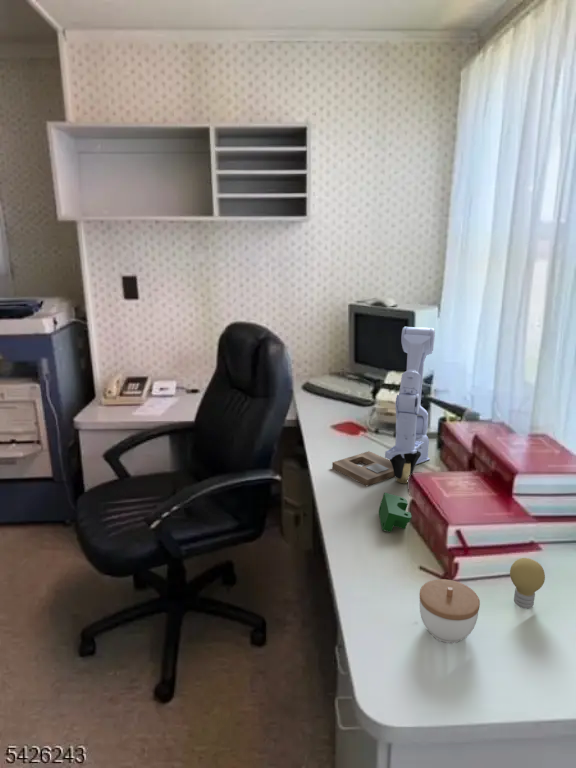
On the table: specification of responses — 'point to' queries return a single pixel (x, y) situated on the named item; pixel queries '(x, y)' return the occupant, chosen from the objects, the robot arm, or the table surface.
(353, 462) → the jig plate
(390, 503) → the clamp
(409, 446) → the robot arm
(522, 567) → the light bulb
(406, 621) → the table surface
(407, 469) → the brass bushing
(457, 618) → the lidded jar
